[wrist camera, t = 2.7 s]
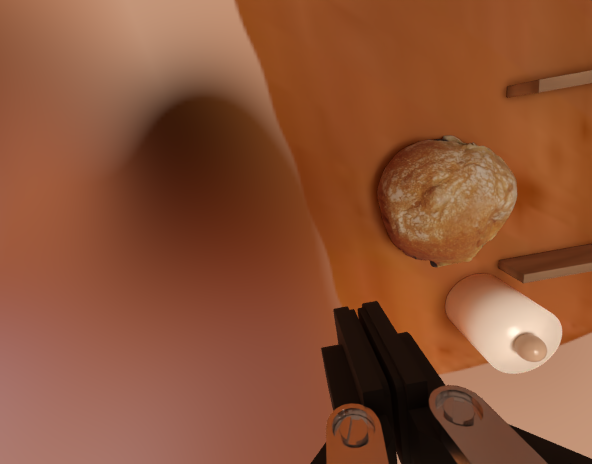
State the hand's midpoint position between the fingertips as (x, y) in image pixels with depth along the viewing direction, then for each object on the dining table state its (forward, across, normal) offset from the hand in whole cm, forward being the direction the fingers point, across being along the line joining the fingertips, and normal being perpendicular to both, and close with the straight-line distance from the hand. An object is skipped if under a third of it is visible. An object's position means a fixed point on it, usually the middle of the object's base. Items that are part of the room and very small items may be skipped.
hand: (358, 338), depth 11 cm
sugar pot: (+15, -14, +10) cm, 23 cm away
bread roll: (+15, -10, -1) cm, 19 cm away
